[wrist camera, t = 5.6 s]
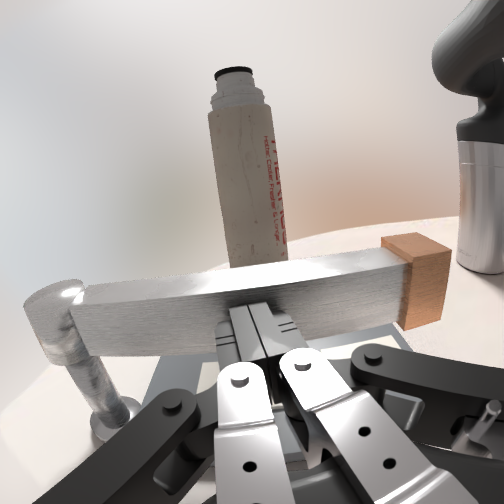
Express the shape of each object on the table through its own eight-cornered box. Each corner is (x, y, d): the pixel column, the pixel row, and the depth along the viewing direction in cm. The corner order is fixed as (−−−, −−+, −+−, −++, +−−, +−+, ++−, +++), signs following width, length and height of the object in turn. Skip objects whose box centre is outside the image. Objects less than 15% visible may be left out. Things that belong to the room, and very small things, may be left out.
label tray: (383, 324, 23) (385, 311, 23) (445, 417, 12) (452, 403, 11) (170, 352, 24) (165, 339, 23) (133, 458, 12) (123, 447, 12)
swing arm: (38, 365, 11) (10, 308, 10) (67, 330, 15) (47, 279, 14) (444, 323, 11) (456, 252, 10) (408, 290, 15) (412, 230, 14)
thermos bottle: (297, 265, 40) (274, 70, 31) (275, 290, 34) (245, 55, 25) (249, 262, 44) (224, 83, 35) (221, 284, 37) (189, 74, 29)
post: (153, 405, 17) (119, 332, 15) (138, 450, 13) (89, 378, 11) (106, 400, 17) (69, 332, 15) (87, 440, 13) (37, 370, 11)
